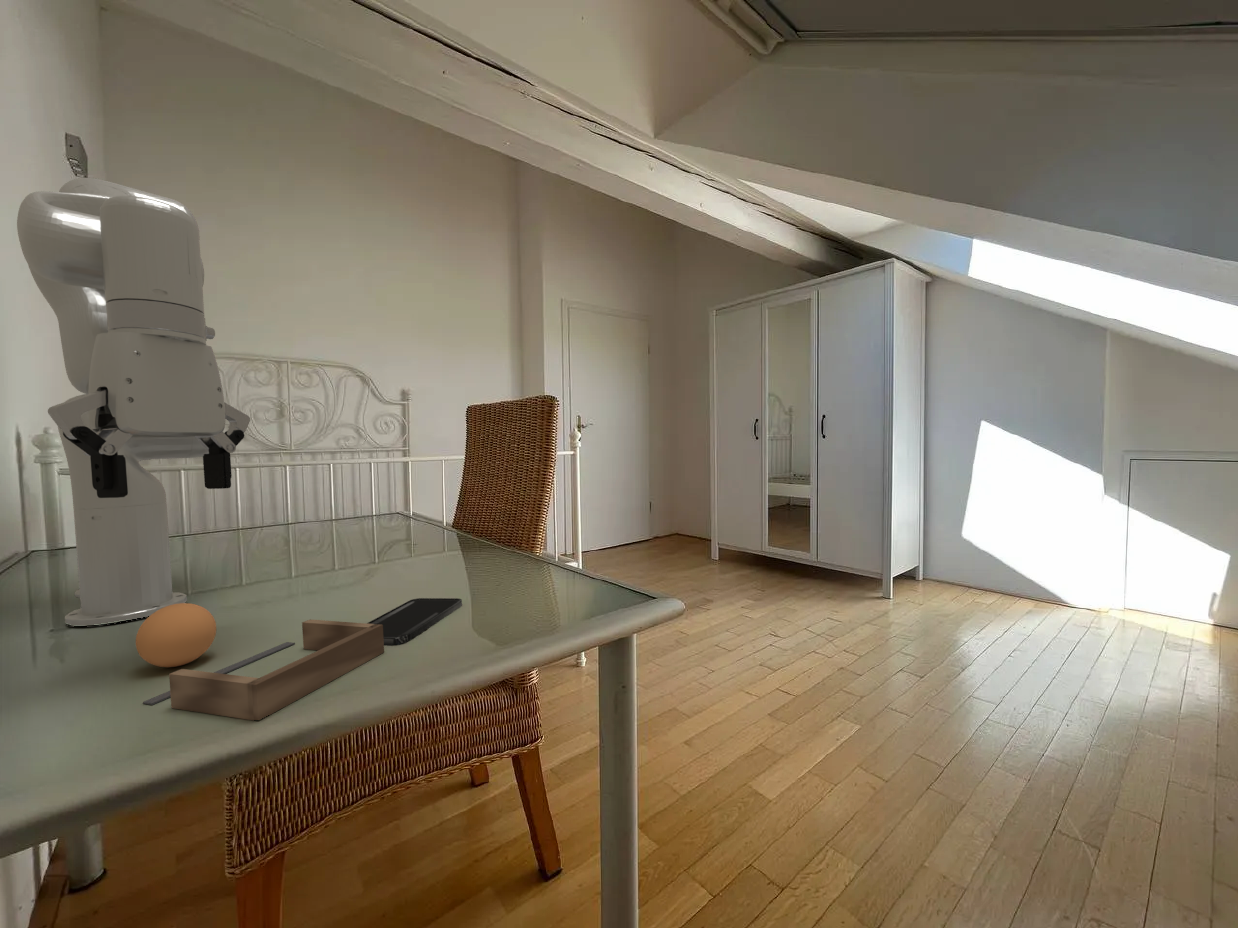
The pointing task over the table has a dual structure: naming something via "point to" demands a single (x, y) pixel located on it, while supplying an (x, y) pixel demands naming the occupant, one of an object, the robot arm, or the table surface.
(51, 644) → the table surface
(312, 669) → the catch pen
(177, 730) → the table surface
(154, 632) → the brown egg
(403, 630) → the phone
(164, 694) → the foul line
